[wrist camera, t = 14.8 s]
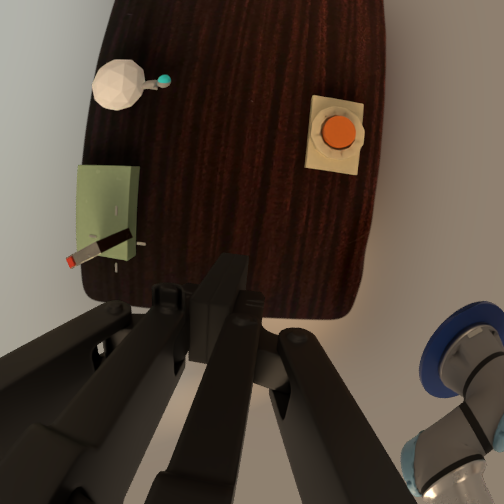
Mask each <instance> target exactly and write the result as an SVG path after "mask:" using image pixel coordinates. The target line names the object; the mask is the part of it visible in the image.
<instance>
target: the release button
mask: <svg viewBox="0 0 504 504" xmlns="http://www.w3.org/2000/svg"><path fill="white" fill-rule="evenodd" d="M322 134H323V138H324V140H325V141H326V142H327V143H328V144H329V145H330V146H332V147H334V148H343V147H346V146H348V145H350V144H351V143H352V142H353V141H354V139H355V136H356V129H355V126H354V124H353V123H352V122H351V121H350V120H349V119H348V118H346V117H344V116H334V117H332V118H330V119H329V120H328V121H327V122H326V123H325V124H324V126H323V130H322Z"/></svg>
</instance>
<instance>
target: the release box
mask: <svg viewBox="0 0 504 504" xmlns="http://www.w3.org/2000/svg"><path fill="white" fill-rule="evenodd" d="M363 106H364V104H361V103H356V102H351V101H345V100H340V99H334V98H328V97H322V96H315V95H313V96H312V99H311V108H310V119H309V129H308V139H307V149H306V158H305V168H312V169H319V170H326V171H333V172H339V173H345V174H351V175H357V172H358V163H359V154H360V148H361V147H362V146H363V144H364V133H365V131H364V128H363V126H362V120H363ZM334 116H344V117H346V118H348V119H349V120H350V121H351V122H352V123H353V124H354V126H355V129H356V136H355V139H354V141H353V142H352V143H351V144H350V145H348V146H346V147H343V148H334V147H332V146H330V145H329V144H328V143H327V142H326V141H325V140H324V138H323V134H322V130H323V126H324V124H325V123H326V122H327V121H328V120H329V119H330V118H332V117H334Z"/></svg>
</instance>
